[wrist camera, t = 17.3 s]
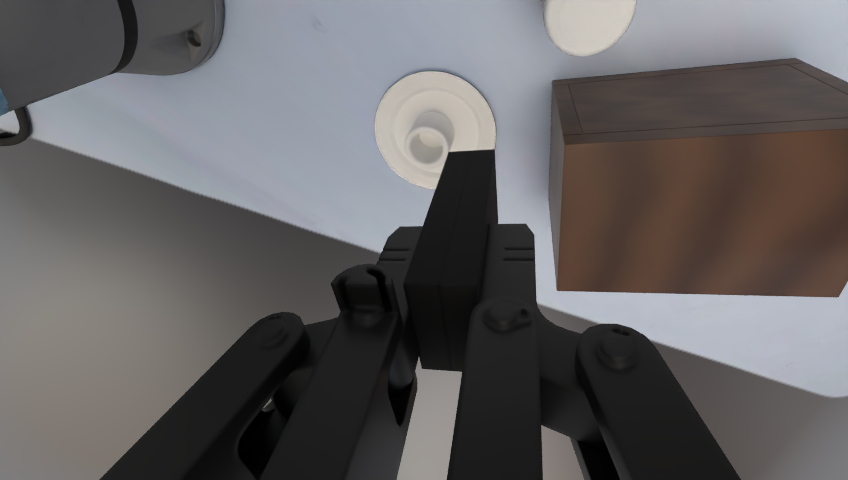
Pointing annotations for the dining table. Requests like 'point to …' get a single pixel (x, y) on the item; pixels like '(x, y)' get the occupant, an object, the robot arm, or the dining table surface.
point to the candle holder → (431, 124)
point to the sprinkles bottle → (586, 24)
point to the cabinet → (701, 181)
